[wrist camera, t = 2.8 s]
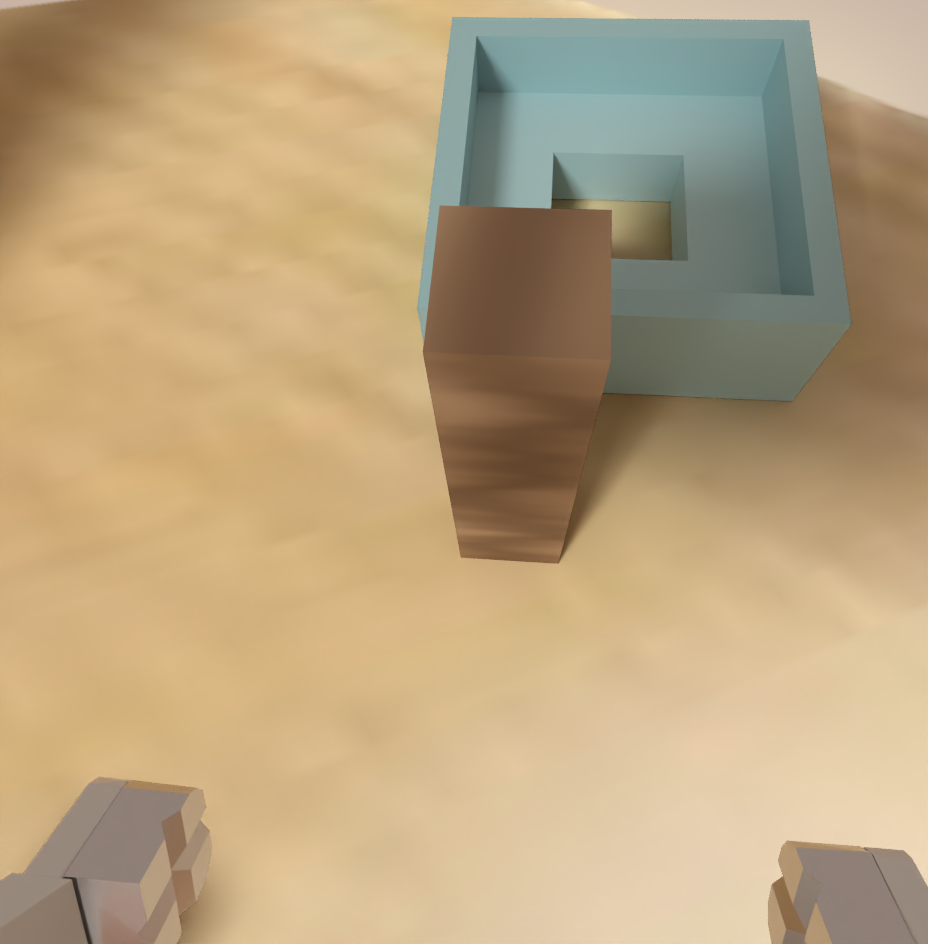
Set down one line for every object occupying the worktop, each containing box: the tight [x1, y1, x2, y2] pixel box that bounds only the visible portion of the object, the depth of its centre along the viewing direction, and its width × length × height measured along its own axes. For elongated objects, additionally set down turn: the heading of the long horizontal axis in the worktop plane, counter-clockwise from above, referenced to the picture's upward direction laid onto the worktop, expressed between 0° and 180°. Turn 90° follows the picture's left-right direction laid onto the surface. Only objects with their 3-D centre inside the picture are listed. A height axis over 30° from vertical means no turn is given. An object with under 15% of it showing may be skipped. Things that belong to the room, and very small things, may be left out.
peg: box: [423, 205, 612, 563], centre depth 24 cm, size 4×4×16 cm
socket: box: [417, 17, 851, 401], centre depth 34 cm, size 16×16×6 cm
